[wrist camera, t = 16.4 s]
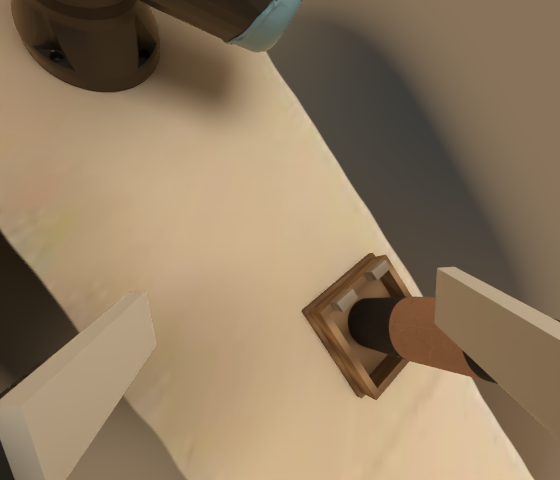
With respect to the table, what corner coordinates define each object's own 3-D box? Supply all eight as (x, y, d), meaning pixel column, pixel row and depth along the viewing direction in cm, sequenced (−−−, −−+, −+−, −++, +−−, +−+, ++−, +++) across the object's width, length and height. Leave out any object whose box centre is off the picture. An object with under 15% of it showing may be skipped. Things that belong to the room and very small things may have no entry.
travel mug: (394, 313, 46) (550, 326, 27) (375, 359, 43) (534, 407, 25) (359, 286, 44) (500, 280, 26) (337, 331, 41) (477, 361, 23)
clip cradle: (301, 310, 41) (322, 313, 36) (369, 253, 47) (395, 248, 42) (357, 396, 42) (385, 411, 37) (416, 329, 48) (447, 334, 43)
